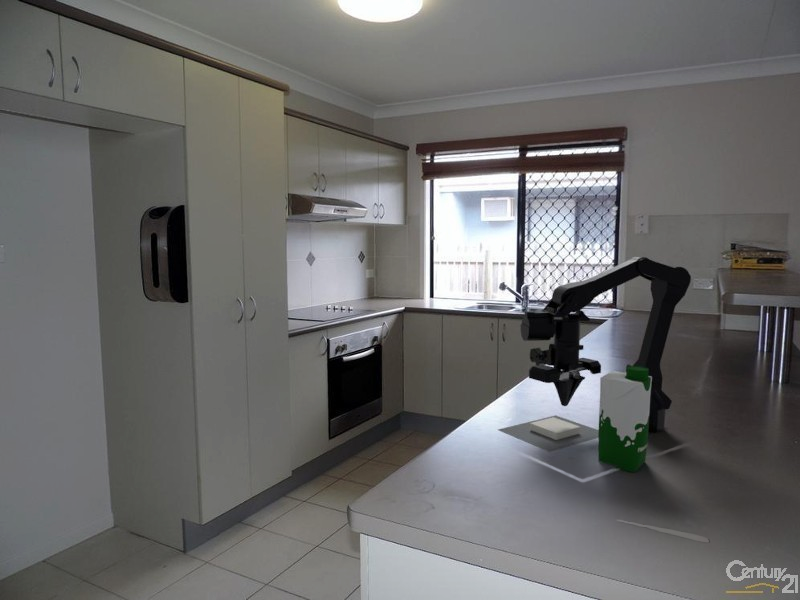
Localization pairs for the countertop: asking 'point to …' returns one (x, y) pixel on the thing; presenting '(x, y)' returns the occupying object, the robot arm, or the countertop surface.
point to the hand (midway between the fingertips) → (564, 405)
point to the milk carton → (624, 418)
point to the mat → (545, 442)
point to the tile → (555, 428)
